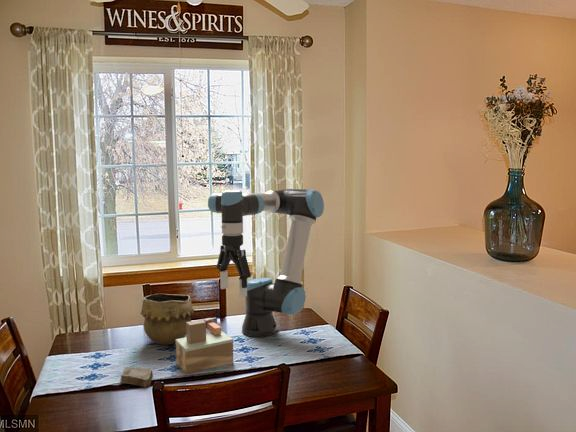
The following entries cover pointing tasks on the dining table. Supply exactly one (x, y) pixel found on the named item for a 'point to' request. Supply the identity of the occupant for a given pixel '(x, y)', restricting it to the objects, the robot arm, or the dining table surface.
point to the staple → (211, 320)
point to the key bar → (213, 327)
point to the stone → (137, 376)
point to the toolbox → (204, 357)
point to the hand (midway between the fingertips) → (233, 292)
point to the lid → (200, 337)
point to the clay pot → (166, 317)
